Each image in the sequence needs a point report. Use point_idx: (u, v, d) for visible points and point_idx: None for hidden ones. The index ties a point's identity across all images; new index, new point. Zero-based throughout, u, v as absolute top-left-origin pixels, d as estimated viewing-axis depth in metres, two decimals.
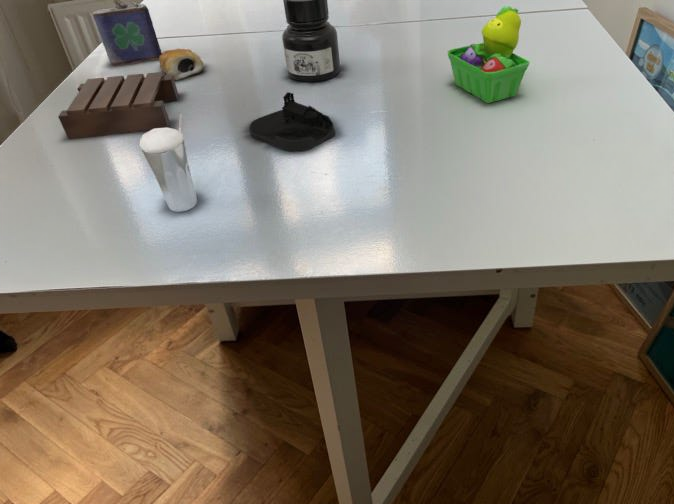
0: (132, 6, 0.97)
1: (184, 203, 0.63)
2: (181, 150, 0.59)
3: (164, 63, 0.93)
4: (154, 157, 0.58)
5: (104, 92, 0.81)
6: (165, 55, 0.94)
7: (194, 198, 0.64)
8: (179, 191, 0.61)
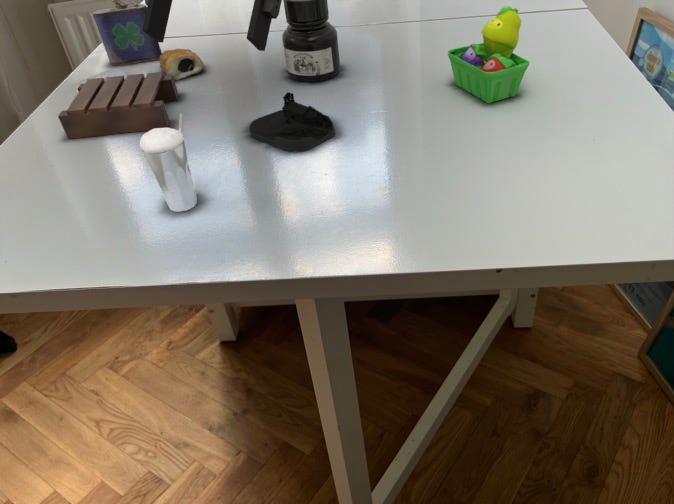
0: (132, 6, 0.97)
1: (184, 203, 0.63)
2: (181, 150, 0.59)
3: (164, 63, 0.93)
4: (154, 157, 0.58)
5: (104, 92, 0.81)
6: (165, 55, 0.94)
7: (194, 198, 0.64)
8: (179, 191, 0.61)
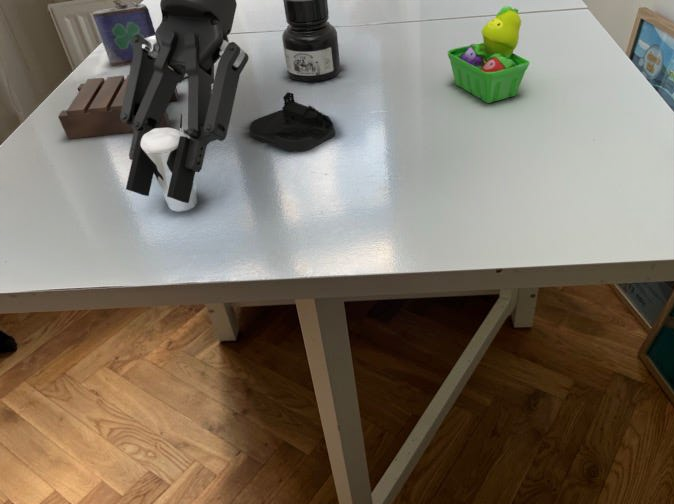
0: (132, 6, 0.97)
1: (184, 203, 0.63)
2: None
3: None
4: (155, 157, 0.58)
5: (104, 92, 0.81)
6: None
7: (194, 198, 0.64)
8: None
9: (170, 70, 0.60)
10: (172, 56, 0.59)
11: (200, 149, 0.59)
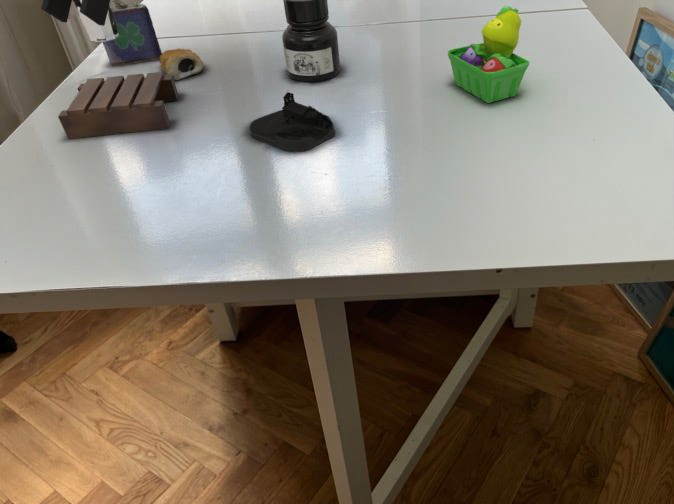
0: (132, 6, 0.97)
1: (103, 32, 0.63)
2: None
3: (164, 63, 0.93)
4: None
5: (104, 92, 0.81)
6: (165, 55, 0.94)
7: (114, 29, 0.64)
8: None
9: None
10: None
11: None
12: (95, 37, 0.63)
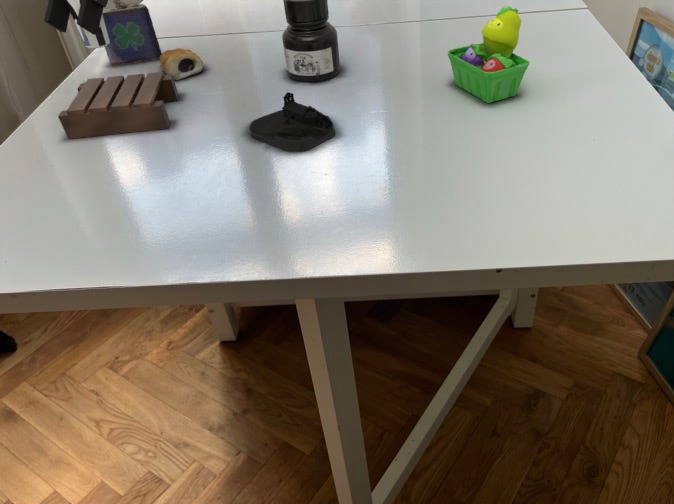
0: (132, 6, 0.97)
1: (97, 40, 0.75)
2: None
3: (164, 63, 0.93)
4: None
5: (104, 92, 0.81)
6: (165, 55, 0.94)
7: (106, 37, 0.76)
8: None
9: None
10: None
11: None
12: (90, 44, 0.75)
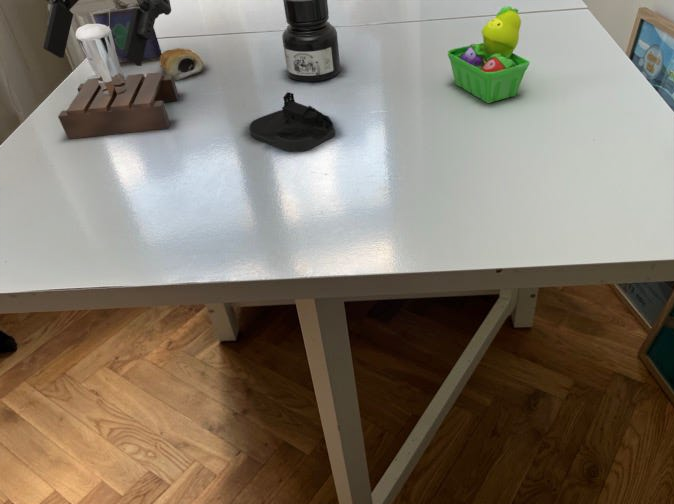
0: (132, 6, 0.97)
1: (114, 87, 0.79)
2: (108, 40, 0.76)
3: (164, 63, 0.93)
4: (86, 44, 0.74)
5: None
6: (165, 55, 0.94)
7: (123, 84, 0.80)
8: (109, 76, 0.78)
9: None
10: None
11: (149, 20, 0.74)
12: (108, 91, 0.79)
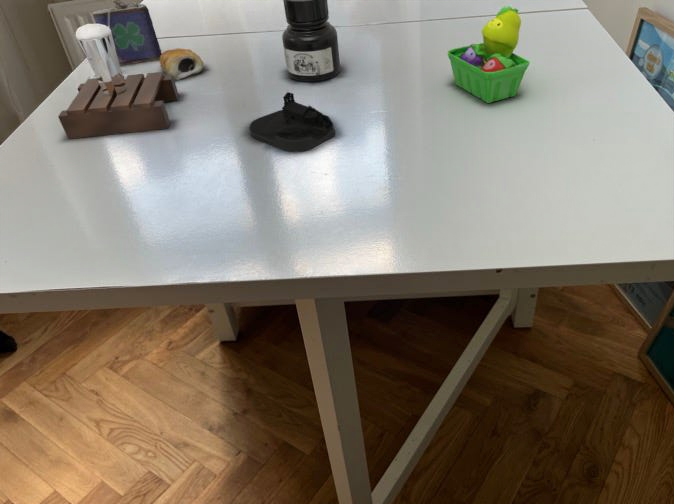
0: (132, 6, 0.97)
1: (114, 87, 0.79)
2: (108, 40, 0.76)
3: (164, 63, 0.93)
4: (86, 44, 0.74)
5: None
6: (165, 55, 0.94)
7: (123, 84, 0.80)
8: (109, 76, 0.78)
9: None
10: None
11: None
12: (108, 91, 0.79)
